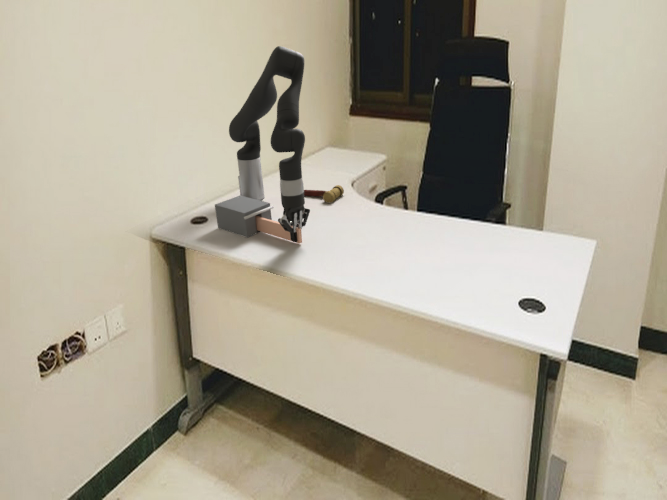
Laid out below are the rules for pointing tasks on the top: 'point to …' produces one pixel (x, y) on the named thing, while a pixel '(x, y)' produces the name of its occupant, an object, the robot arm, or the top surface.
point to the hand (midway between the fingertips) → (296, 240)
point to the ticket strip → (275, 229)
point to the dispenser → (241, 215)
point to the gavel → (326, 193)
